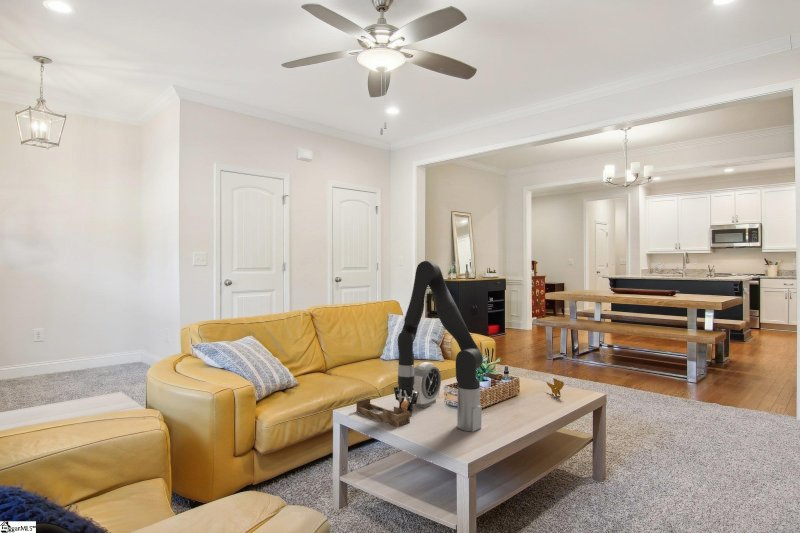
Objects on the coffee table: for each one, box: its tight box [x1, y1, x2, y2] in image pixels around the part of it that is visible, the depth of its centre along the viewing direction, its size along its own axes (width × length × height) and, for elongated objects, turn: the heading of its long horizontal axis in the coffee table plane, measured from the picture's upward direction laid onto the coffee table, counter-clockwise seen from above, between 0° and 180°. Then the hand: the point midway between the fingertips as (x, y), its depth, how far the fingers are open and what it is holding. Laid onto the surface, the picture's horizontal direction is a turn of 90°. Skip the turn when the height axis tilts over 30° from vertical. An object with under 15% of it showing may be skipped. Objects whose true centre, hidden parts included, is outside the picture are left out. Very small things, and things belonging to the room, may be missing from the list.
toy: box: [545, 377, 565, 397], centre depth 235 cm, size 3×16×10 cm, turn 14°
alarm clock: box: [413, 361, 442, 409], centre depth 218 cm, size 18×8×20 cm, turn 143°
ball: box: [401, 400, 408, 411], centre depth 202 cm, size 4×4×4 cm
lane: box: [355, 397, 411, 428], centre depth 199 cm, size 27×7×5 cm, turn 45°
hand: (405, 411), depth 202 cm, fingers closed on ball, 4 cm apart
